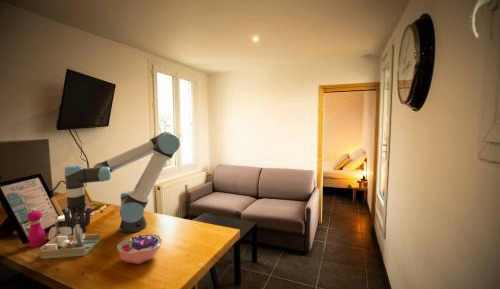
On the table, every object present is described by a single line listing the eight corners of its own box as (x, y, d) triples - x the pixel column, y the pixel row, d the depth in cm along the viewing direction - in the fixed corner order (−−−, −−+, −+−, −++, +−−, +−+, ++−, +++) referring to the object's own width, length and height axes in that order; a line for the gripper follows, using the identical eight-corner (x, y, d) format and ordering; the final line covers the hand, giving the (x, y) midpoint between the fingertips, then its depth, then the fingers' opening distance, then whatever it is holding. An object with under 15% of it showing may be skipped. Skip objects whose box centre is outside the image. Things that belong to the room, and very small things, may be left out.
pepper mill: (35, 248, 123) (31, 211, 121) (24, 246, 124) (20, 210, 122) (49, 241, 130) (46, 206, 128) (39, 240, 131) (35, 205, 129)
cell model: (129, 249, 121) (128, 228, 119) (168, 249, 120) (167, 228, 119) (109, 270, 104) (107, 246, 103) (153, 271, 103) (152, 246, 102)
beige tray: (100, 240, 131) (99, 231, 130) (84, 255, 116) (83, 245, 115) (61, 242, 128) (60, 233, 128) (40, 258, 113) (39, 248, 113)
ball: (72, 244, 123) (71, 238, 123) (67, 248, 120) (67, 241, 120) (64, 245, 123) (64, 238, 123) (60, 249, 119) (59, 242, 119)
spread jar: (79, 233, 139) (78, 214, 138) (60, 243, 128) (57, 222, 127) (64, 231, 142) (62, 212, 141) (43, 240, 131) (41, 220, 130)
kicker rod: (86, 243, 124) (84, 216, 123) (82, 247, 120) (79, 220, 119) (72, 244, 124) (70, 217, 122) (67, 248, 120) (64, 220, 118)
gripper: (96, 192, 124) (99, 234, 127) (64, 193, 122) (68, 236, 125) (88, 196, 117) (92, 241, 119) (54, 198, 115) (58, 244, 117)
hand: (79, 239), depth 122 cm, fingers closed on kicker rod, 2 cm apart
